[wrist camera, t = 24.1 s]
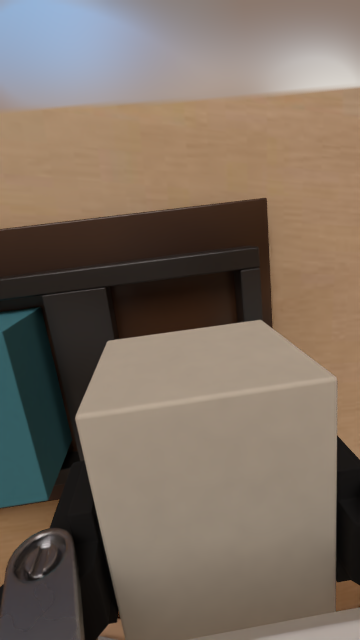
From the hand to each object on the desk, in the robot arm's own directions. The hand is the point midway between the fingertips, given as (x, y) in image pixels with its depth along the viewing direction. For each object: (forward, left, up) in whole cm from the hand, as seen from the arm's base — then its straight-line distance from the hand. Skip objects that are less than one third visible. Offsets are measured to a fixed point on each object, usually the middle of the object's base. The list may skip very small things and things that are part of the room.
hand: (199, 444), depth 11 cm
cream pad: (0, 0, 0) cm, 0 cm away
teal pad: (0, -9, -8) cm, 12 cm away
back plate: (0, -5, -9) cm, 10 cm away
